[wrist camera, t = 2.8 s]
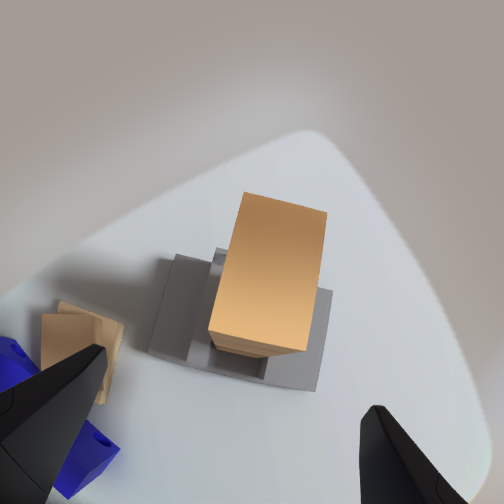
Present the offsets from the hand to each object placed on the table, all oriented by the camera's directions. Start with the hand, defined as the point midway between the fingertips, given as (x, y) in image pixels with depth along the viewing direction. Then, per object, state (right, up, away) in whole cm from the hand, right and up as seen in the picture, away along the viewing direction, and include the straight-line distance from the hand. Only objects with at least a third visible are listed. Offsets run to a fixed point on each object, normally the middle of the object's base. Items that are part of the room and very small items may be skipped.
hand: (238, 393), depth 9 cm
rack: (0, -1, +12) cm, 12 cm away
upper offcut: (-11, -2, +9) cm, 14 cm away
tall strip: (0, 0, +10) cm, 10 cm away
